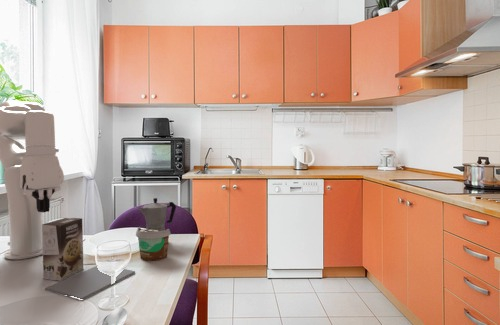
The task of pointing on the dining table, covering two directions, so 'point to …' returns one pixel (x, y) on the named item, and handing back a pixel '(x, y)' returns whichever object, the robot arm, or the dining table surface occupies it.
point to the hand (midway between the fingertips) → (43, 211)
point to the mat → (86, 283)
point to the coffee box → (62, 248)
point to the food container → (153, 244)
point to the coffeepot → (157, 214)
